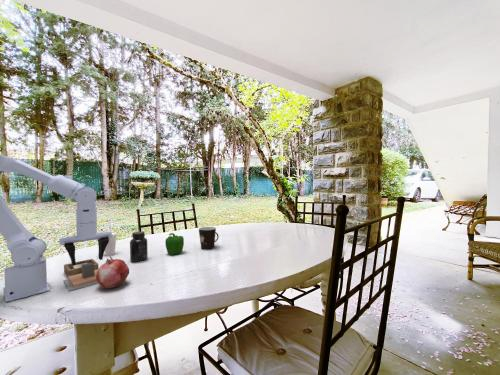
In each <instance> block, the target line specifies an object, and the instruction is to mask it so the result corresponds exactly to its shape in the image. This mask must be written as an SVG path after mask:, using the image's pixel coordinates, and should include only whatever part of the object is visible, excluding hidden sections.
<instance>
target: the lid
mask: <svg viewBox="0 0 500 375" xmlns="http://www.w3.org/2000/svg"><path fill="white" fill-rule="evenodd" d="M97 271H98V269H97V270H94V264H93V263H92V262H91V263H87V264H82V273H81V274H77V275H72V276H68V278H67V279H68V280H69V282H70V283H71V285H72V286H73V288H75V287H79V286H82V285H86V284H90V283H93V282H97V279H96V274H97Z"/></svg>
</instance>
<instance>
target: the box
mask: <svg viewBox="0 0 500 375" xmlns="http://www.w3.org/2000/svg"><path fill="white" fill-rule="evenodd" d="M91 262H92V263H93V264H94V270H97V269H99V268H100V266H99V263H98V262H97V261H96V260H95V259H94V258H90V259H84V260H80V261H76V265H75V266H73V265H72V263H71V262H70V263H66V264H63V273H64V275H65V276H66V278H67V279H68V276H72V275H77V274H81V273H82V264H87V263H91Z"/></svg>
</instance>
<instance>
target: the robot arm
mask: <svg viewBox="0 0 500 375" xmlns="http://www.w3.org/2000/svg"><path fill="white" fill-rule="evenodd" d="M4 172H5V173H17V174H20V175H22V176H25V177H28V178H31V179H33V180H36V181H38V182H39V183H40V182H41V183H43V184H45V185H47V188H48V190H49V191H51V192H54V193H55V194H58V195H60V196H62V197H64V198H68V199H71V200H72V199H74V200H75V202H76V209H75V213H76V214H75V218H76V225H75V226H76V235H72V236H67V237H62V238H59V239H58V240H59V242H58V243H59V244H58V245H59V246H63V247H64V249H65V250H66V251H67V254H68V256H69V259H70V263H72V265H73V266H75V265H76V262H77V261H76V245H75V243H76V244H77V243H81V242H82V243H83V242H89V241H95V240H97V244H98V245H97V246H98V256H97V257H98V260H100V261H101V260H103V259H104V258H103V257H104V255H105V248H106V246H107V244H108V243H109V239H108V238H112V233H113V232H112V231H111V232H110V231H104V232H103V231H101V232H98V217H97V216H98V215H97V214H98V212H97V208H96V207H97V202H96V200H97V195H98V194H97V191H96V190H95V189H93V188H91V187H90V186H86V184H85V183H83V182H82V183H80V182H77V181H75V180H73V179H71V177H70V176H68V174H67V175H62V174H57V175H52V174H50V173H47V172H45V171H43V170H41V169H39V168H37V167H35V166H33V165H31V164H28V163H26V162H25V161H22V160H20V159H16V158H13V157H10V156H6V155H3V154H1V153H0V175H1V174H3V173H4ZM0 235H1V236H2V238H4V239H5V242H6V247H7V249H8V250H9V252H10V255H11V256H10V259H11V261H12V262H13V265H12V266H8V267H5V268H4V270H3V272H4V273H3V274H4V287H3V288H2V290H3V291H2V292H3V295H4V299H5V301H4V302H5V303H6V302H7V303H8V302H11V301H16V300H20V299H23V298H27V297H29V296H34V295H38V294H42V293H45V292H49V291H50V290H51V289H50V288H51V287H50V285H49V283H48V278H47V274H48V273H47V258H46V257H45V256H44V255H43V254H45V253H46V251H47V243H46V242H45V240H43V239H41V238H38V237H37V236H36V235H35V233H33V232H32V231H29V230H28V229H27V228H26V227H25V225H24V224H23V223H22V222H21V221H20V219H19V218H18V217H17V215H16V214H15V213H14V212H13V210H12V209H11V208H10V207H9V205H8V204H7V203H6V201H5V200H4V199H3V198H2V197H1V196H0Z"/></svg>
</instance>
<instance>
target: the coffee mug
mask: <svg viewBox="0 0 500 375" xmlns="http://www.w3.org/2000/svg"><path fill="white" fill-rule="evenodd" d="M216 230H217V227H215V226H203V227H199V228H198V234H199V241H200V249H201V250H204V251H208V250H209V251H210V250H213V249H214V248H215V243H216V242H217V241H218V239H219V237H220V236H219V233H218V232H216ZM216 236H217V237H216Z"/></svg>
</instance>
